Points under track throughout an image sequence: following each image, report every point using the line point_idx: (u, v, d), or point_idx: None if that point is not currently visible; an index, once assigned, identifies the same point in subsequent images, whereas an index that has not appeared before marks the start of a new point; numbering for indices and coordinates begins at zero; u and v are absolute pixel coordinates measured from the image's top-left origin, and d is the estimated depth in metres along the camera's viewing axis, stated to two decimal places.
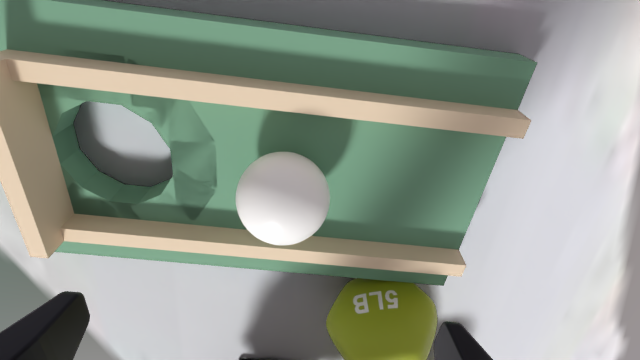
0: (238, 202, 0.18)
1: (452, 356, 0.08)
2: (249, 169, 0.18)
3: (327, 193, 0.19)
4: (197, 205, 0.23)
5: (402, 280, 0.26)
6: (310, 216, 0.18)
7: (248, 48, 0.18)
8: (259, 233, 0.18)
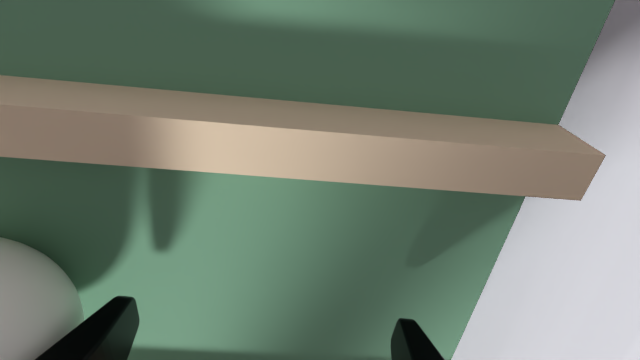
0: None
1: (403, 352, 0.08)
2: None
3: None
4: None
5: None
6: None
7: None
8: None
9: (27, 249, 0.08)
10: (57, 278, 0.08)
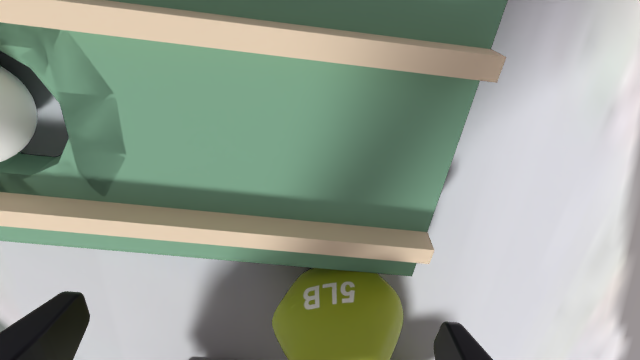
0: None
1: (452, 356, 0.08)
2: None
3: None
4: (105, 177, 0.19)
5: (362, 270, 0.22)
6: None
7: None
8: (4, 113, 0.16)
9: None
10: None
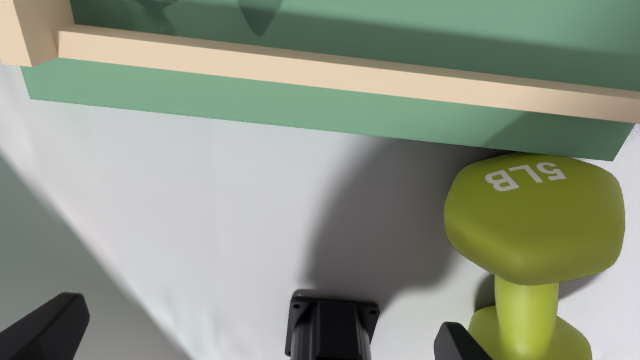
0: None
1: (452, 356, 0.08)
2: None
3: None
4: (267, 5, 0.14)
5: (555, 152, 0.18)
6: None
7: None
8: None
9: None
10: None
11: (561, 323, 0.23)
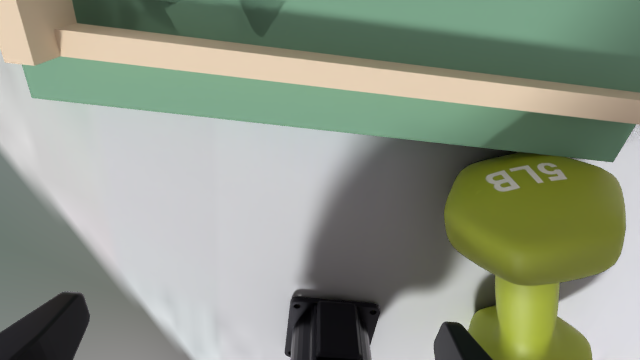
0: None
1: (452, 356, 0.08)
2: None
3: None
4: (269, 5, 0.15)
5: (555, 152, 0.18)
6: None
7: None
8: None
9: None
10: None
11: (561, 324, 0.23)
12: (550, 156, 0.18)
